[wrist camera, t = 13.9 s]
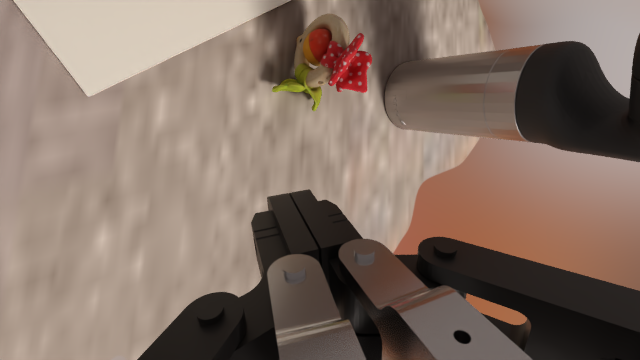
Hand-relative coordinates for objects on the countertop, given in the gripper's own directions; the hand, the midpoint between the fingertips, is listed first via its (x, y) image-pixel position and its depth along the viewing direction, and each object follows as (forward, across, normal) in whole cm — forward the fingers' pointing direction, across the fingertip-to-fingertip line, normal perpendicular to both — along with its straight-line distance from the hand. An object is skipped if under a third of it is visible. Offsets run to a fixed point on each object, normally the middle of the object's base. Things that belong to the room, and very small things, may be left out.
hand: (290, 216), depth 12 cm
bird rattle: (+28, +8, +3) cm, 29 cm away
